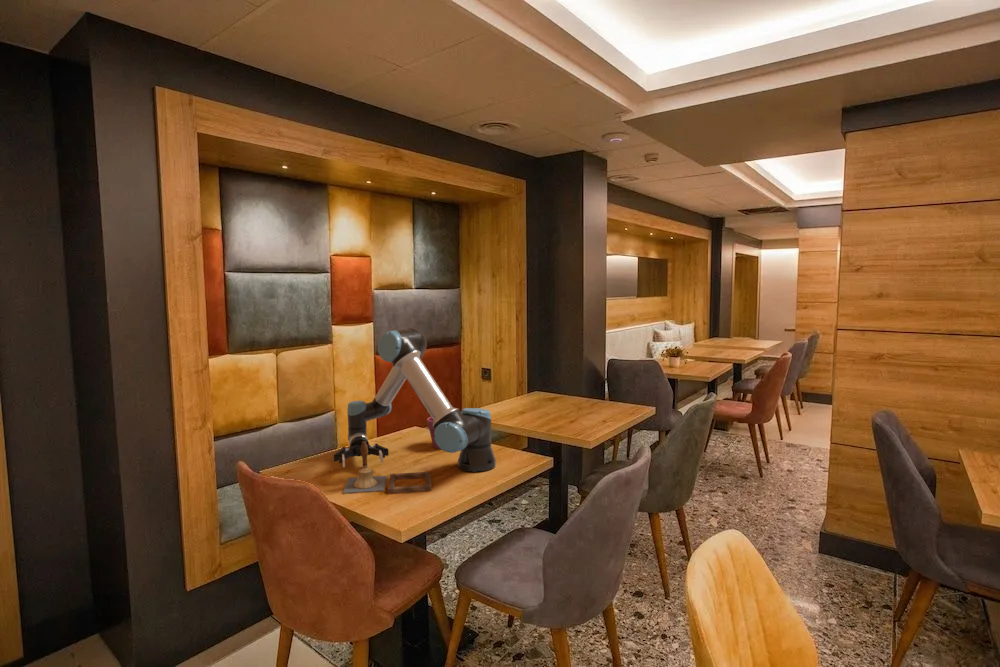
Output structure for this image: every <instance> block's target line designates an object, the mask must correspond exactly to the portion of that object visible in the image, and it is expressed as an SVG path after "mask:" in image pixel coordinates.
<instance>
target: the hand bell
mask: <svg viewBox="0 0 1000 667" xmlns="http://www.w3.org/2000/svg"><path fill="white" fill-rule="evenodd" d="M368 456H369V455H368V447H367V444H366V441H363V442H362V445H361V456H360V457H361V458H362V468H360V469H358V470H359V471H358V476H357V477H358V479H357V481H356V482H355V483H354V487H356V488H359V489H367V488H371V487H374V486H376V485H377V481H376V480H375V479H374V478H373V476H374V475H373V471H372V468H370V467H368V466H369V465H368Z"/></svg>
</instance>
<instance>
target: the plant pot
mask: <svg viewBox="0 0 1000 667" xmlns="http://www.w3.org/2000/svg"><path fill="white" fill-rule="evenodd" d="M433 423H434V420H433V418H432V417H431V416H429V417H427V419H426V428H427V429H429V433H430V438H431V442H432V446H433V448H435V449H437V450H438V449H439V450H442V449H441V448H440V447H439V446H438V445H437V443H436V441H435V438H434V437H435V435H434V432H435V429H434V427H433Z"/></svg>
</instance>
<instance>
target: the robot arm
mask: <svg viewBox="0 0 1000 667" xmlns="http://www.w3.org/2000/svg"><path fill="white" fill-rule="evenodd" d="M427 344H428V343H427V339H426V336H425V334H424V333H423V332H422V331H420V330H419V329H416V328H412V327H411V328H405V329H398V330H397V329H392V330H389V331H385V332H384V333H382V335H380V337H379V339H378V346H377V351H378V355H379V357H380V358H381V359H382V360H383V361H384V362H387V363H391V364H392V368H391V370H390V371H389V372H388V375H387V377H386V378H385V379H384V381H383V383H382V385H381V386H380V388H379V390H378V391H377V393H376V395H375V397H373V400H372V401H369V402H366V401H364V400H352V401H349V403H347V426H348V427H347V430H348V431H347V441H348V443H349V447H348V448H347V447H345V446H343V447H342V448H341V449H339V450H338V451H336V453H334V454H333V462H338V463H339V464H342V468H345V467H346V460H347V459H349V458H354V457H362V456H361V445H362V442H363V441H366V444H367V447H368V455H367V456H370V455H371V456H377V457H379V460H380V464H383V463H384V459H385V458H386V457H387V456H389V453H390V452H389V448H387V447H385V446H381V445H379V444H378V443H374V445H370V443H369V439H368V436H367V435H368V434H367V430H368V429H367V426H368V425H367V422H368V421H372V420H374V419H379V418H383V417H385V416H387V415H389V414H390V413H391V411H392V407H393V405H392V402H393V400H394V399H395V398H396V396H397V394H398V393H399V391H400V389H401V388H402V386H403V385H404V383H405V382H406V380H407V381H408V383H409V384H410V386H411V388H412V389H413V391H414V392H415V394H416V395H417V397H418V398H419V399H420V401H421V403H422V405H423V406H424V408H425V409H426V410H427V413H428V414H429V415H430V417H432V418H433V420H434V423H433V427H434V429H435V432H434V435H435V437H434V438H435V441H436V443H437V445H438V446H439V447H440V448H441V449H440V450H442V451H443V452H446V453H450V454H454V453H457V452H460V453H459V455H458V459H457V467H458V468H459V469H460V470H462V471H464V472H469V471H470V472H469V473H478V472H477V471H483V472H486V471H485V470H488V471H490V470H489V469H491V470H493V469H494V468H495V467H496V466H495V465H496V461H497V460H496V457H495V455H494V451H493V448H492V415H491V414H492V413H491V411H490V410H488V409H486V408H478V407H475V408H474V407H465V408H463V409H461V411H460V409H459V408H457V407H454V406H453V405H452V404H451V402H450V401H449V399H448V398H447V397H446V395H445V393H444V391H442V389H441V387H440V386H439V385H438V383H437V382H436V380H435V379H434V377H433V376H432V374H431V373H430V371H429V370H428V368H427V367H426V365H425V364H424V362H423V361H422V359H423V357H424V355H425V353H426V350H427ZM493 467H494V468H493ZM492 468H493V469H492ZM471 471H472V472H471Z"/></svg>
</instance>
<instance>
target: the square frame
mask: <svg viewBox="0 0 1000 667" xmlns="http://www.w3.org/2000/svg"><path fill="white" fill-rule="evenodd" d="M431 472H432V471H418V472H402V473H401V472H400V473H390V474H389V480H388V486H387V494H388V493H391V494H400V493H399V492H406V493H414V492H413V491H421V492H429V491H428V490H431V491H432V473H431ZM424 478H425V480H424V481H425V484H421V485H420V484H417V485H403V486H396V480H408V479H409V480H411V479H424Z"/></svg>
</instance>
